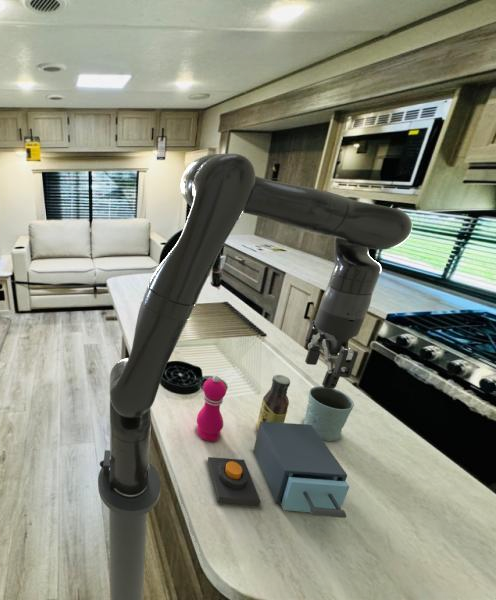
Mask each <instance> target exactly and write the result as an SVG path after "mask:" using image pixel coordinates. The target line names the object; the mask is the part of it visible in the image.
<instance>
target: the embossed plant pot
mask: <svg viewBox="0 0 496 600" xmlns="http://www.w3.org/2000/svg"><path fill="white" fill-rule="evenodd" d="M307 398H308V400H307V402H308V403H307V406H306V409H305V410H306V412H305V417H304V421H303V424H309V425H312V426H313V428H314V429H315V430H316V432H317V433H318V435H319V436H320V437H321V439H322V440H323V441H326V442H335V441H337V440H338V439H339V437H340V436H341V433H342V431H343V430H342V429H343V428H344V427H345V425H346V423H347V420H348V418H349V416H350V414H351V412H352V411H353V408H354V406H355V403H354V401H353V400H352V398H351V397H350V396H349V395H347V394H346V393H344V392H343V391H342V390H339V389H336V388H333V389H331V388H325V387H324V386H323V385H319V386H313V387H311V388H310V389H309V391H308V397H307Z"/></svg>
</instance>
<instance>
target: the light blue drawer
mask: <svg viewBox="0 0 496 600" xmlns="http://www.w3.org/2000/svg"><path fill="white" fill-rule="evenodd" d="M337 479H338V477H332V476H318V475H305V474H292V473H288V476H287V479H286V483H285V486H284V490H283V493H282V499H283V500H282V503H281V504H280V505H281V508H282V510H283V511H292V512H303V513H310V514H311V515H312V516H319V517H330V518H340V519H341V518H343V519H346V518H347V513H346V511H345V510H344V509H343V508H342V506H343V504H344V502H345V499H346V496H347V495H348V492H349V489H350V485H349V483H348V482H347V480H346V481H337Z"/></svg>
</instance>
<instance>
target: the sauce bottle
mask: <svg viewBox="0 0 496 600" xmlns="http://www.w3.org/2000/svg"><path fill="white" fill-rule="evenodd" d="M271 381H272V383H271V387H270V389H269V390H268V391H267V392H266V394H265V395H264V396H263V398H262V402H261V406H260V410H259V415H258V418H257V421H256V422H257V423H256V433H258V428H259V424H260V422H275V423H285V421H286V417H287V413H288V408H289V405H290V400H289V397H288V395H287V394H288V389H289V387H290V386H291V385H290V384H291V379H290V378H289V377H288V376H286V375H283V374H275V375H273V377H272V379H271Z"/></svg>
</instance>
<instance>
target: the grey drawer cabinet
mask: <svg viewBox="0 0 496 600" xmlns="http://www.w3.org/2000/svg"><path fill="white" fill-rule="evenodd" d="M252 453H253V455H254V457H255V459H256V462H257V464H258V466H259V468H260V470H261V473H262V475H263V477H264V479H265V482H266V484H267V487H268V489H269V491H270V493H271V496H272V498H273V501H274V502H275V504H276V505H281V503H282V500H283V499H282V493H283V490H284V486H285V483H286V479H287V476H288V473H292V474H305V475H318V476H332V477H338V479H337V481H346V482H347V478H348V474H347V472H346V471H345V470H344V467H343V466H342V465H341V464H340V462H339V461H338V459H337V458H336V457H335V455H334V454H333V453H332V451H331V449H330V448H329V447H328V446H327V445H326V443H325V441H324V440H322V439H321V437H320V436H319V435H318V433H317V432H316V430H315V429H314V428H313V426H312V425H309V424H304V423H292V422H291V423H290V422H284V423H275V422H260V424H259V428H258V432H256V437H255V442H254V447H253V452H252Z"/></svg>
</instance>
